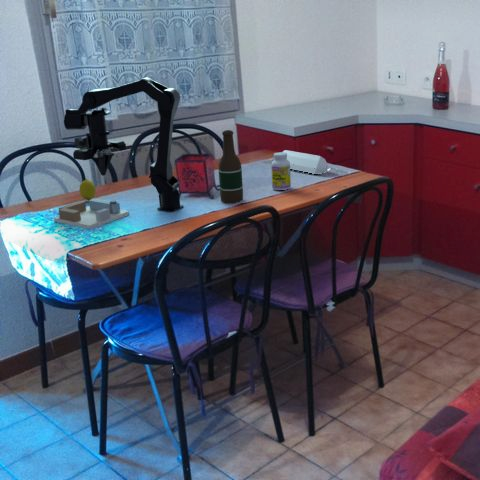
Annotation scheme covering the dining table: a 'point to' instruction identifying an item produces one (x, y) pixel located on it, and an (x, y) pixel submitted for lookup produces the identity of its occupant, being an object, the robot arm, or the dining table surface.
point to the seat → (86, 215)
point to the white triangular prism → (306, 162)
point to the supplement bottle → (280, 172)
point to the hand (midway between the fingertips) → (103, 175)
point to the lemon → (87, 189)
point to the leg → (104, 205)
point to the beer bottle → (230, 171)
